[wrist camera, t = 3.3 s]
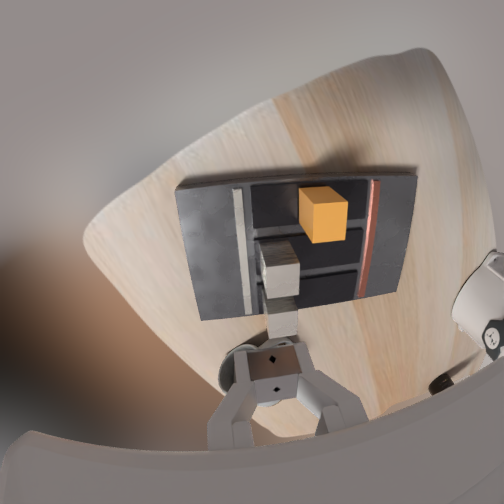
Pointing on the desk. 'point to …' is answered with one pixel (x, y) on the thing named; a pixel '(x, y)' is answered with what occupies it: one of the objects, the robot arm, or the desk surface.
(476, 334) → the robot arm
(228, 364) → the ceramic mug
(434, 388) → the supplement bottle
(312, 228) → the toggle
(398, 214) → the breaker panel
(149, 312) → the desk surface
